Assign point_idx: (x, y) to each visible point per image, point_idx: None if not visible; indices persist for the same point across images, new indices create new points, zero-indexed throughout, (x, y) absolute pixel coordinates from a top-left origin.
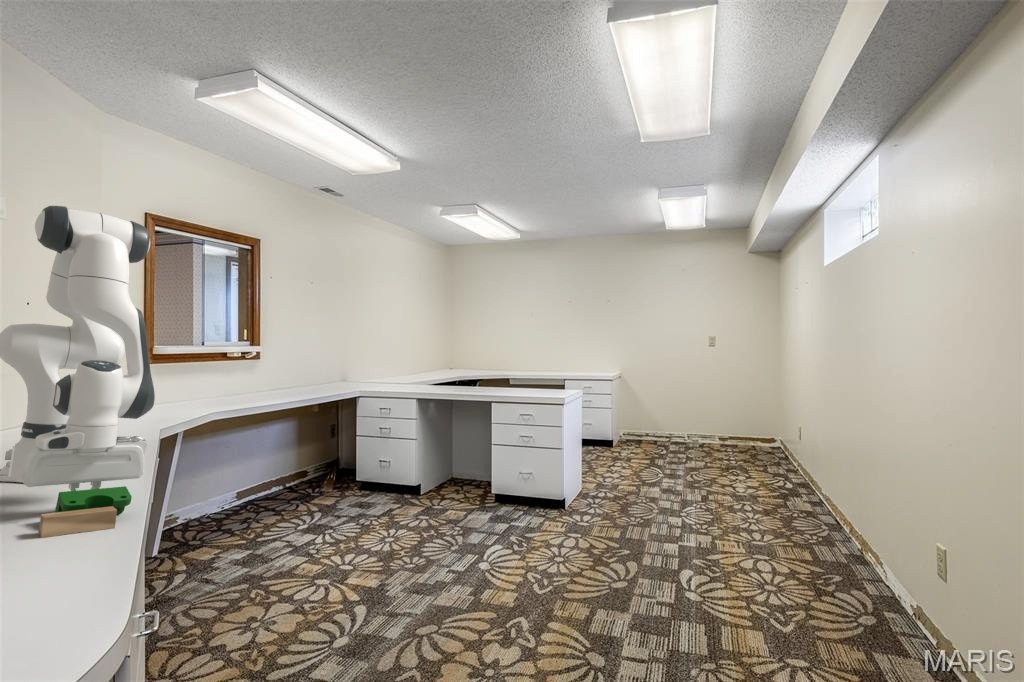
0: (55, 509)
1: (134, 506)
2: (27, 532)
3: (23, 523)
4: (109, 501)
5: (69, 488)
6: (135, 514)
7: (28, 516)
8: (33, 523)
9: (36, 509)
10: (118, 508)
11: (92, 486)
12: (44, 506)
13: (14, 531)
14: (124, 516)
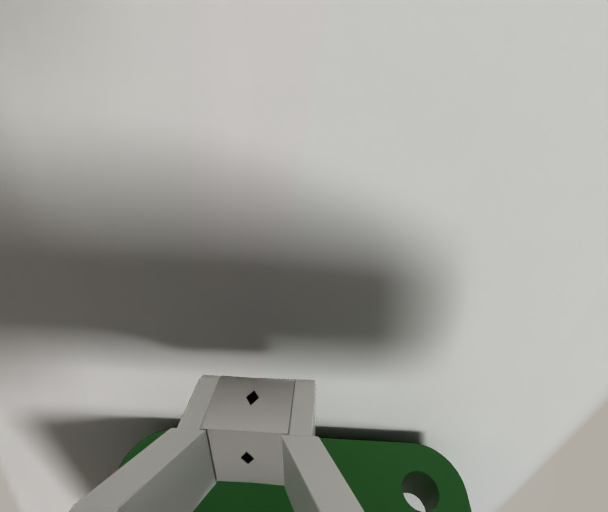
0: None
1: (591, 360)
2: None
3: (27, 407)
4: None
5: (97, 496)
6: (489, 493)
7: (13, 301)
8: (67, 425)
9: (12, 136)
10: (428, 499)
11: (315, 503)
12: (47, 49)
13: (25, 483)
14: None
